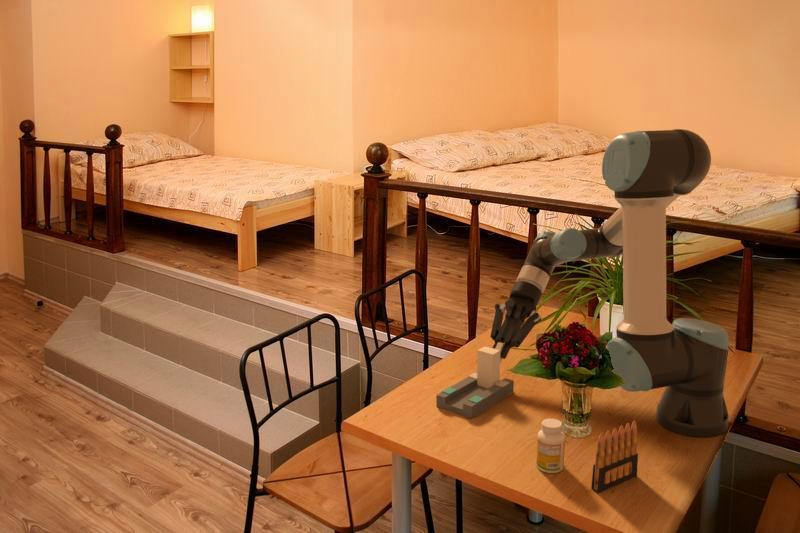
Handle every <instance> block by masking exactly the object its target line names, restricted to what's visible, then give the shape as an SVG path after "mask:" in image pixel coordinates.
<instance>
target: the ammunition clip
mask: <svg viewBox="0 0 800 533" xmlns="http://www.w3.org/2000/svg"><path fill="white" fill-rule="evenodd" d="M637 433H638V428H637V422H636V420H633V421H632V423H631V426H630V423H629V422H627V423H626V425H625V428H624V426H623V424H621V425H620V426H619V429H617V427H616V426H615V427H614V428H613V429H612V433H611V432H610V429H607V431H606V433H605V436H604V433H603V432H600V434H599V436H598V441H597V446H596V448H597V449H596V453H595V464H594V463H593V464H592V465H593V467H592V476H591V485H590V487H591V490H593V491H594V492H596V493H598V494H600V493H603V492H604V491H605V492H606V491H607V490H609V489H611V488H614V487H617V486H618V485H621V484H623V483H625V481H626V482H628V481H631V480H632V478H633V479H635V478H637V477H638V465H639V463H638V462H639V459H638V458H639V453H637V451H638V450H637V448H638V434H637Z"/></svg>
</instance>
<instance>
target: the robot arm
mask: <svg viewBox="0 0 800 533" xmlns="http://www.w3.org/2000/svg"><path fill="white" fill-rule="evenodd" d="M601 162H602V163H601V174H602V179H603V180H604V183H605V185H606V187H607V188H608V189H609V190H611V191H613V192H614V200H615V201H616V202H618V204H619V205H620V206H619V208H618V209H617V210H616V211H615V212H614V213H612V215H611V216H610V217H609V218H607V220H606V221H605V222H604V223H603V224H602V225H601V226H600V227H597V228H587V229H577V228H573V227H568V228H566V229H561V230H559V231H556V233H555V232H553V231H552V232H551V231H546V230H545V231H541V232H539V233H538V234H537V236H536V237H535V239H534V240H533V242H532V244H531V248H530V250H529V252H528V254H527V256H526V259H525V260H524V263H523V265H522V267H521V269H520V271H519V273H518V276H517V277H516V281H515V282H514V284H513V286H512V288H511V291H510V293H509V297H508V299H506V300H505V302H504V303H501V304H499V303H495V305H494V309H495V310H494V311H495V314H494V318H493V321H492V326H491V331H490V335H489V337H490V338H491V339H492V340H493V342H494V344H493V345H492V348H493V349H497V350H500V364H501V363H502V360H505V359H506V358H507V356H508V354H509V353H510V350H511V348H516V349H518V348H519V347H520V346H521V345H522V343H523V342H524V341H525V339H526V338H527V337H528V335H529V334H530V332H532V330H533V329H534V327H535V326H536V325H537V324H538V323H540V322H541V321H542V317H541V316H540V313H538V312H537V306H538V305H539V303H540V301H541V299H542V296H543V292H545V289H546V287H547V284H548V283H549V280H550V278H551V275H552V273H553V271H554V269H555V268H556V267H557V266H559V265H563V264H565V263H568V262H575V261H576V262H577V261H584V260H585V261H586V260H593V259H594V260H595V259H601V258H616V257H619V256H622V275H623V276H622V282H623V283H622V284H623V290H622V292H623V293H622V294H623V296H622V297H623V299H622V300H623V318H622V320H621V321H620V322H619V323H618V324H617V325H616V328H615V330H616V337H613V338H611V339H610V340H609V341H608V342H607V344H606V346H605V349H607V350H608V351H609V354H610V357H611V363H612V366H613V368H614V369H613V370H612V372H613V373H614V374H616V375H618V376H620V377H621V378H622V379H623V380H624V381H625V382H626V383H625V384H623V385H620V386H619V387H620V389H621V388H622V389H623V390H625V391H627V392H631V393H635V392H649V391H651V390H656V389H661V388H665V389H664V391H663V393H662V396H661V398H660V400H659V402H658V403H657V405H656V406H657V407H656V414H655V418H656V420H657V422H658V423H659V424H660V425H661V426H663V427H664V428H666V429H667V430H670V431H672V432H675V433H677V434H680V435H685V436H688V437H689V436H691V437H696V438H698V437H700V438H705V437H706V438H707V437H708V438H709V437H717V436H719V435H722V434H724V433H725V432H727V430H728V428H729V423H730V422H729V420H730V417H729V416H730V415H729V411H728V408H727V403H726V400H725V395H724V388H725V379H726V372H727V370H726V369H727V365H728V364H727V362H728V353H729V350H730V348H729V338H730V337H729V333H728V331H727V330H726V329H725V328H723V327H722V326H720V325H718V324H716V323H713V322H710V321H707V320H702V319H699V318H698V319H697V318H690V317H681V318H680V317H679V318H675V319H674V320H673V322H672V323H670V321H668V319H667V208H668V207H669V206H670V205H671V204H673V202H675V201H676V200H677V199H678V198H679V197H681V196H687V195H688V194H690V193H692V192H693V191H694V190H695V189H697V187H699V186H700V185H701V183H702V182H703V181H704V180H705V178H706V176H707V175H708V173H709V172H710V168H711V164H712V163H711V162H712V155H711V150H710V147H709V145H708V144H707V142H706V141H705V139H704V138H702V137H701V136H700V135H699V134H697V133H696V132H694V131H691V130H688V129H681V128H676V129H664V130H663V129H662V130H659V129H658V130H636V131H631V132H624V133H620V134H618V135H617V136H615V137H614V138H612V140H611V141H610V143H609V145H607V147H606V149H605V151H604V153H603V157H602V161H601ZM504 314H505V316H504Z"/></svg>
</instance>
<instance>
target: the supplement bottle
mask: <svg viewBox="0 0 800 533" xmlns="http://www.w3.org/2000/svg"><path fill="white" fill-rule="evenodd" d="M565 446H566V435H565V433H564V432H563V422H562V421H561V420H560V419H555V418H546V419H543V420H542V421H541V429H540V430H539V431H538V433H537V442H536V467H537V468H538V470H540V472H541V471H542V472H544V473H548V474H556V473H557V474H558V473H560V472H562V471H563V469H564V466H565V448H566V447H565Z"/></svg>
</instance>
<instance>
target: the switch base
mask: <svg viewBox="0 0 800 533" xmlns="http://www.w3.org/2000/svg"><path fill="white" fill-rule="evenodd" d="M514 381H515V380H513V379H510V378H507V377H505V378H503V379H501V380H500V381H498V382H497V383H495V384H494V385H493V386H491V387H490V388H484V387H481V386H478V385H477V371H476V372H473V373H471V374H469V375H467V377H465V378H463V379H462V380H460V381H458V382H457V383H455V384H453V385H451V386H449V387H446V388H445V389H443V390H441V392H439V393H437V394H436V398H435V399H436V407H438V408H439V409H442V410H446V411H449V412H452V413H454V414H458V415H461V416H463V417H466V418H468V419H473V418H476V417H477V416H478V415H479V414H482V413H483V412H484V411H486V410H487V409H489V408H491V407H492V406H493V405H495V404H497V403H498V402H500V401H501V400H503V399H504V398H506V397H508V396H510V395H511V394H513V393H514V388H515V387H514V384H515V382H514Z"/></svg>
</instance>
